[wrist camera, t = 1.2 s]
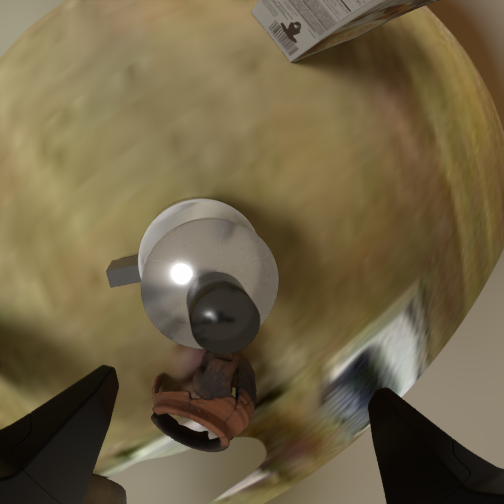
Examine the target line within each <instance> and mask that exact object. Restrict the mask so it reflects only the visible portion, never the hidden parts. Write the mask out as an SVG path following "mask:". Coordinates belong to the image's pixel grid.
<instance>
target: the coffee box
mask: <svg viewBox="0 0 504 504" xmlns="http://www.w3.org/2000/svg"><path fill="white" fill-rule="evenodd" d="M435 1H438V0H259V1H258V2H257V4H256V5H255V7H254V9H253V10H252V14H253V16H254V17H255V18H256V19H257V20H258V21H259V23H260V24H261V25H262V26H263V27H264V29H265V30H266V31H267V32H268V34H269V35H270V36H271V37H272V39H273V40H274V41H275V43H276V44H277V45H278V46H279V48H280V49H281V50H282V52H283V53H284V54H285V56H286V57H287V58H288V60H289V61H290V62H291V63H293V62H296V61H299V60H301V59H303V58H306V57H308V56H310V55H313V54H315V53H318V52H320V51H323V50H325V49H328V48H330V47H333V46H335V45H338V44H340V43H343V42H346V41H349V40H351V39H354V38H357V37H359V36H360V35H362V34H364V33H366V32H368V31H370V30H372V29H374V28H376V27H378V26H380V25H382V24H384V23H386V22H388V21H390V20H392V19H395V18H397V17H399V16H401V15H403V14H405V13H408V12H410V11H412V10H415V9H417V8H420V7H422V6H425V5H427V4H430V3H432V2H435Z"/></svg>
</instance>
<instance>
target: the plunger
mask: <svg viewBox="0 0 504 504" xmlns="http://www.w3.org/2000/svg"><path fill="white" fill-rule="evenodd" d="M278 285H279V275H278V269H277V265H276V262H275V259H274V257H273V254H272V252H271V251H270V249H269V247H268V246H267V245H266V243H265V242H264V241H263V240H262V239H261V238H260V237H259V236H258V235H257V234H256V233H254V232H253V231H251V230H250V229H248V228H247V227H245V226H244V225H242V224H239V223H237V222H235V221H231V220H228V219H223V218H211V217H208V218H199V219H195V220H191V221H188V222H185V223H183V224H180V225H179V226H177V227H175V228H173V229H172V230H170V231H169V232H168V233H166V234H165V235H164V236H163V237H162V238H161V239H160V240H159V241H158V242H157V243H156V245H155V246H154V247H153V248H152V250H151V252H150V254H149V255H148V257H147V260H146V262H145V265H144V269H143V274H142V279H141V296H142V301H143V305H144V308H145V310H146V313H147V315H148V316H149V318H150V320H151V321H152V323H153V324H154V325H155V327H156V328H157V329H158V330H159V331H160V332H161V333H163V334H164V335H165V336H166V337H168V338H169V339H171V340H173V341H174V342H177V343H179V344H181V345H184V346H188V347H191V348H197V349H205V350H207V351H209V352H212V353H217V354H228V353H233V352H236V351H238V350H240V349H242V348H244V347H245V346H247V345H248V344H249V343H250V342H251V341H252V340H253V339H254V338H255V336H256V334H257V333H258V330H259V327H260V325H261V324H262V323H263V322H264V321H265V319H266V318H267V317H268V315H269V314H270V312H271V310H272V308H273V306H274V303H275V300H276V297H277V293H278Z"/></svg>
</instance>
